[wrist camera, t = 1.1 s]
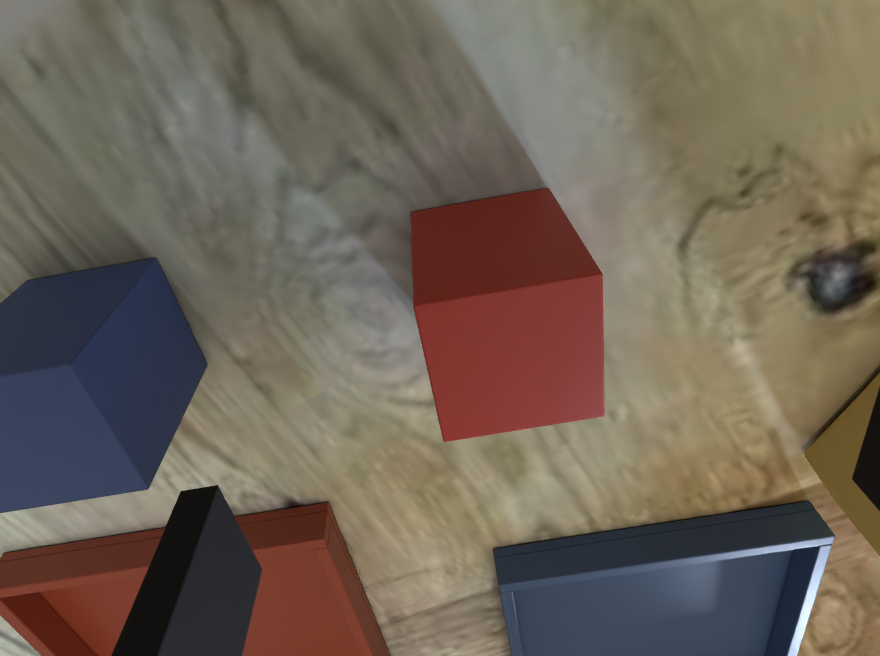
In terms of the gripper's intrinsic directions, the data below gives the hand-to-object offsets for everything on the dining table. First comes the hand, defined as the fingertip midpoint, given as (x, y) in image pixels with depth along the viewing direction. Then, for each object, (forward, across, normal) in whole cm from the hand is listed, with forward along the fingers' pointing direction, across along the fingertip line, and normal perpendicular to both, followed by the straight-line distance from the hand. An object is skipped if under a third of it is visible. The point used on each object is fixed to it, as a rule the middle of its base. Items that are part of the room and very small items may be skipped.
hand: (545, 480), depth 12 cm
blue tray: (+10, +6, -23) cm, 25 cm away
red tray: (+10, -16, -18) cm, 26 cm away
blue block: (+10, -13, 0) cm, 16 cm away
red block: (+10, 0, 0) cm, 10 cm away
